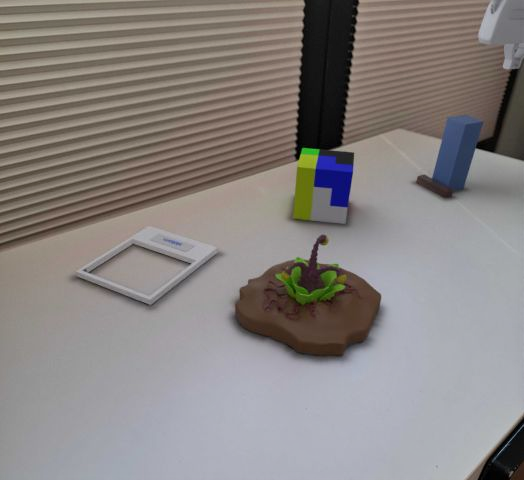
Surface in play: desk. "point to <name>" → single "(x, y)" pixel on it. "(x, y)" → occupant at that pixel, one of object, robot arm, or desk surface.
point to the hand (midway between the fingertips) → (510, 68)
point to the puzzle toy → (323, 185)
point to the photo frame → (159, 243)
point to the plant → (309, 305)
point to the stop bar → (435, 186)
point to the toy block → (457, 150)
